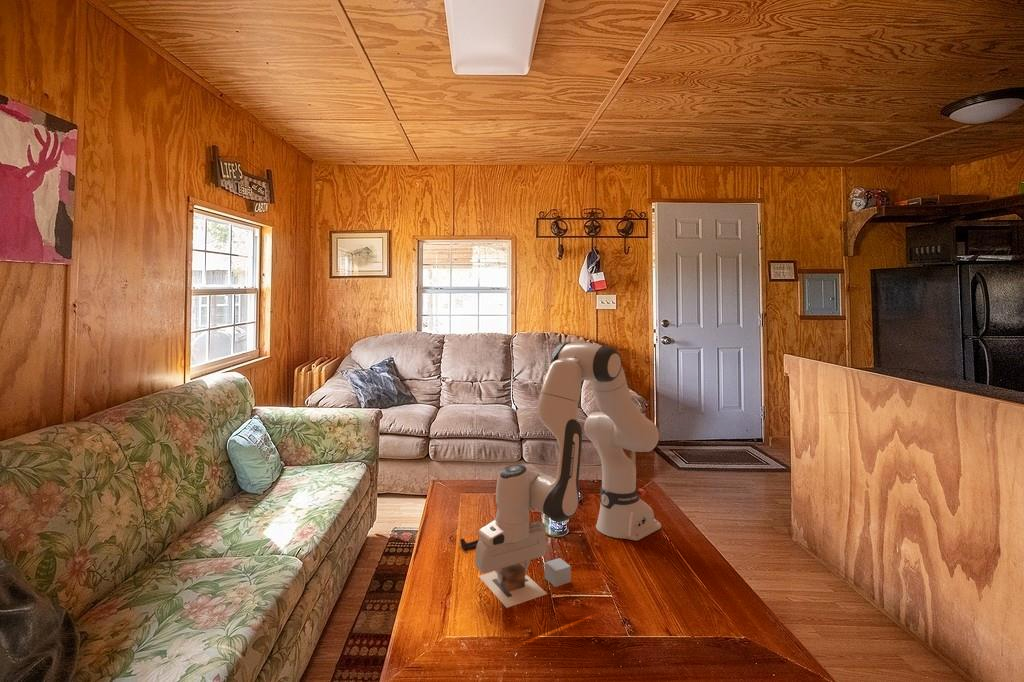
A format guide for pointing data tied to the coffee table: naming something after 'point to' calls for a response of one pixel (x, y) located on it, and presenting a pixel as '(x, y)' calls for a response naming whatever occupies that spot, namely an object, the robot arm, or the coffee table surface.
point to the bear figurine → (468, 544)
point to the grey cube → (557, 572)
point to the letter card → (516, 595)
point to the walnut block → (513, 577)
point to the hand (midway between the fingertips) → (511, 578)
